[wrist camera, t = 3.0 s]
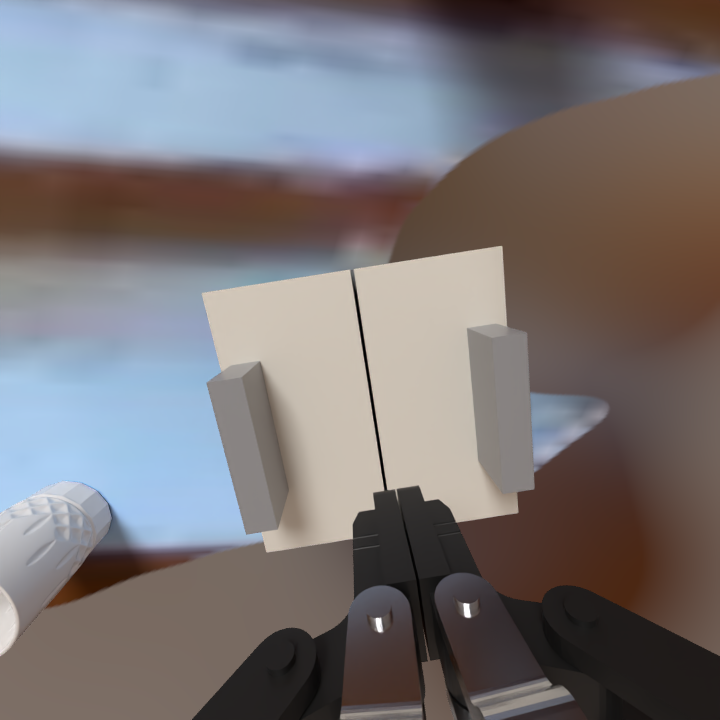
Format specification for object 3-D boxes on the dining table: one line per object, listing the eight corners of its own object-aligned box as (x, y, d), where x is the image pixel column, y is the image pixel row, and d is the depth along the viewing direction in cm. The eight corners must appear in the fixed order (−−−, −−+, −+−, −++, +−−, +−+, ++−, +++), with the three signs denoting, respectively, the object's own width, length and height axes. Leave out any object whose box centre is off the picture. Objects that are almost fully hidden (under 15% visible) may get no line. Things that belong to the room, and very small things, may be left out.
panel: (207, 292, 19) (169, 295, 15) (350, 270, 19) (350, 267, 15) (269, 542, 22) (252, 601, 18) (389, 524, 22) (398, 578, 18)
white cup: (137, 525, 32) (45, 631, 22) (69, 564, 33) (-49, 684, 23) (79, 458, 31) (-47, 541, 21) (9, 501, 31) (-146, 600, 21)
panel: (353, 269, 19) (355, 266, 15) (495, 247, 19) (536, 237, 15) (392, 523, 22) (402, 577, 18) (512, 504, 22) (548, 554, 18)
